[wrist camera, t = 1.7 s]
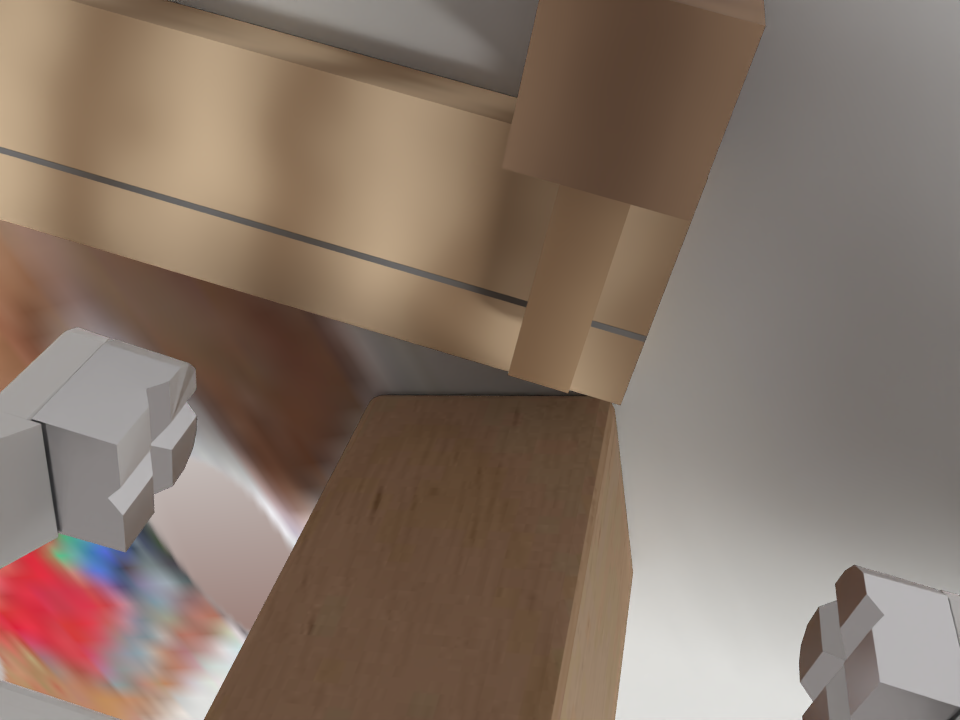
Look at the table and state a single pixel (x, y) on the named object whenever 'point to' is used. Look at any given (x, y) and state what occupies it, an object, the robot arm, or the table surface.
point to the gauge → (616, 141)
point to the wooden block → (452, 571)
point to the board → (298, 178)
